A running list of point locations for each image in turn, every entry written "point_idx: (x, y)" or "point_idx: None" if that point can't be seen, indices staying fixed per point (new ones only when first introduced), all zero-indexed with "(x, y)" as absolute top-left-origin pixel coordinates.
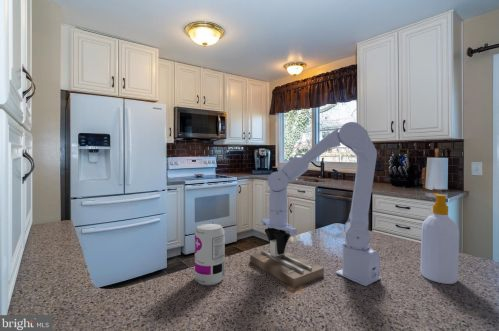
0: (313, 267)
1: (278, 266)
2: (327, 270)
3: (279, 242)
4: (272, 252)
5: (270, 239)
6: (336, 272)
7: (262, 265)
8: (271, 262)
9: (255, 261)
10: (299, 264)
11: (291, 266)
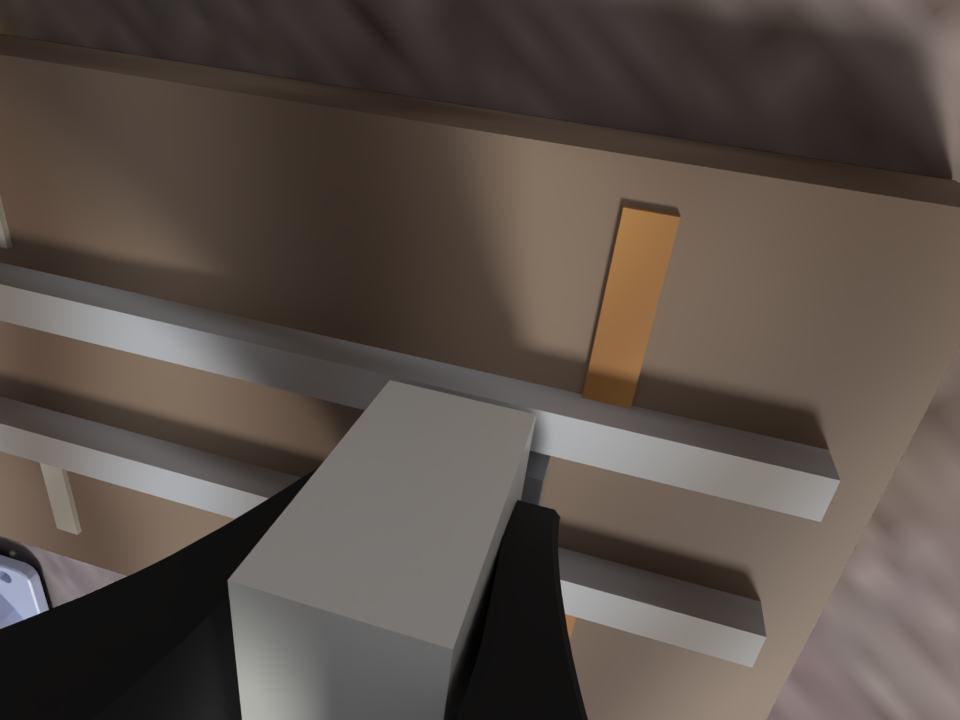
0: (6, 474)
1: (199, 194)
2: (115, 581)
3: (70, 601)
4: (439, 429)
5: (475, 708)
6: (18, 568)
7: (533, 126)
8: (382, 237)
9: (771, 165)
10: (89, 431)
11: (37, 286)
